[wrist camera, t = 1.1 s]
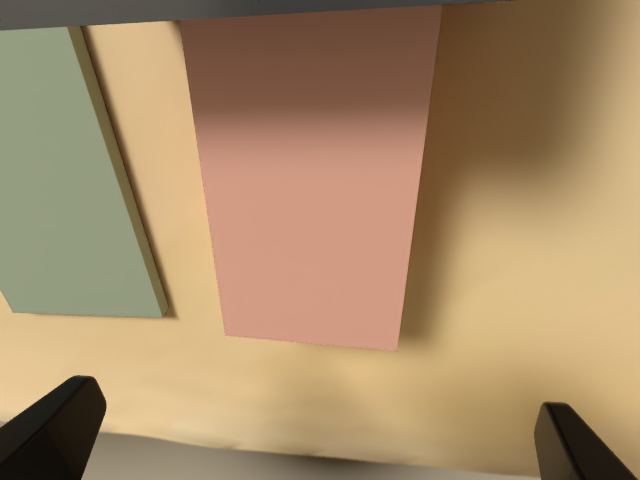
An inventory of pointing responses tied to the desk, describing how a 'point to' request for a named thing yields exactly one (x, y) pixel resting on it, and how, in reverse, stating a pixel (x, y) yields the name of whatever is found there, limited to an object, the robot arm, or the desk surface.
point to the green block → (66, 188)
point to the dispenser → (173, 10)
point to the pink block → (312, 166)
